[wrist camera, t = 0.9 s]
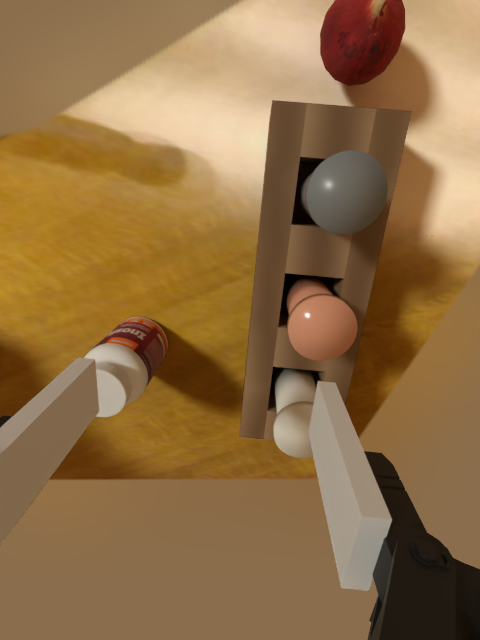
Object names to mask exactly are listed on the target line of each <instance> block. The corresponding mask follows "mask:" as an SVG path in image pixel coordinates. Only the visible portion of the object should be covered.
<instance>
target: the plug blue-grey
mask: <svg viewBox="0 0 480 640" xmlns="http://www.w3.org/2000/svg"><path fill="white" fill-rule="evenodd" d="M387 192H388V184H387V178H386V175H385V172H384V170H383V168H382V166H381V165H380V164H379V162H378V161H377V160H376V159H375V158H373V157H372V156H371V155H369V154H367V153H364V152H361V151H355V150H349V151H343V152H339V153H337V154H334V155H332V156H330V157H329V158H327V159H325V160H324V161H323V162H321V163H320V164H319V165H318V166H317V167H316V169H315V170H314V171H313V172H312V173H311V174H309V175H308V176H307V177H306V178H305V180H304V181H303V183H302V185H301V188H300V192H299V200H300V204H301V207H302V209H303V210H304V212H305V213H306V214H307V215H309V216H310V217H311V218H312V219H313V221H314V222H315V223H316V224H317V225H318V226H320V227H321V228H323V229H325V230H327V231H329V232H331V233H335V234H352V233H355V232H358V231H360V230H362V229H364V228H366V227H367V226H369V225H370V224H371V223H372V222H373V221H374V220H375V219H376V218H377V217H378V215H379V214H380V213H381V211H382V209H383V207H384V204H385V202H386V198H387Z"/></svg>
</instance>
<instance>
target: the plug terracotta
mask: <svg viewBox="0 0 480 640" xmlns="http://www.w3.org/2000/svg"><path fill="white" fill-rule="evenodd" d="M285 300H286V305H287V309H288V313H289V317H288V322H287V330H288V335H289V339H290V342H291V344H292V346H293V347H294V349H295V350H296V351H297V352H298V353H299V354H301V355H302V356H304V357H306V358H308V359H311V360H316V361H325V360H330V359H334V358H336V357H338V356H340V355H342V354H343V353H344V352H346V351H347V350H348V349H349V348H350V346H351V345H352V344H353V342H354V340H355V338H356V335H357V320H356V317H355V315H354V313H353V311H352V310H351V308H350V307H349V306H348V305H347V304H346V303H345V302H344V301H343V300H342V299H340V298H339V297H337V296H334V295H333V294H332V293H331V292H330V290H329V289H328V288H327V286H326V285H325V284H324V283H323V282H322V281H321V280H319V279H317V278H314V277H302V278H299V279H297V280H296V281H294V282H293V283H292V284H291V285H290V286H289V288H288V290H287V292H286V298H285Z"/></svg>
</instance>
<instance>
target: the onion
mask: <svg viewBox="0 0 480 640" xmlns="http://www.w3.org/2000/svg"><path fill="white" fill-rule="evenodd" d="M404 31H405V8H404V5H403V2H402V0H335V1H334V3H333V4H332V6H331V7H330V8H329V10H328V11H327V13H326V15H325V19H324V22H323V26H322V29H321V33H320V39H321V47H320V54H321V57H322V60H323V63H324V66H325V69H326V70H327V71H328V72H329V73H330V75H331V76H332V77H333V78H334V79H335V80H337V81H339V82H341V83H344V84H346V85H348V86H350V85H358V84H364V83H367V82H369V81H370V80H372V79H373V78H375V77H376V76H378V75H379V74H381V73H382V72H383V71H384V70H385V69H386V67H387V66H388V65H389V63H390V62H391V60H392V59H393V57H394V56H395V55H396V53H397V52H398V49H399V46H400V43H401V40H402V37H403V34H404Z"/></svg>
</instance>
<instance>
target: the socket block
mask: <svg viewBox="0 0 480 640" xmlns="http://www.w3.org/2000/svg"><path fill="white" fill-rule="evenodd" d="M411 112H412V111H400V110H387V109H374V108H362V107H349V106H337V105H324V104H312V103H299V102H287V101H274V100H273V101H272V107H271V114H270V122H269V132H268V143H267V153H266V163H265V174H264V184H263V194H262V204H261V215H260V225H259V235H258V246H257V256H256V266H255V277H254V287H253V297H252V307H251V318H250V328H249V338H248V349H247V359H246V369H245V379H244V390H243V400H242V412H241V425H240V437H246V438H256V439H266V440H274V432H273V423H274V419H275V417H276V415H277V409H276V397H275V385H274V381H271V378H272V371H273V367H283V368H293V369H304V370H311V374H312V375H313V378H314V382H315V385H316V388H317V383H318V381H324V382H334V383H336V385H337V388H338V390H339V393H340V395H341V397H342V400H343V402H344V405H346V401H347V396H348V392H349V387H350V383H351V378H352V374H353V370H354V365H355V361H356V356H357V352H358V347H359V343H360V338H361V334H362V330H363V325H364V321H365V316H366V312H367V307H368V303H369V298H370V294H371V290H372V285H373V281H374V276H375V272H376V267H377V263H378V258H379V254H380V249H381V245H382V241H383V236H384V232H385V227H386V223H387V218H388V214H389V209H390V205H391V201H392V196H393V192H394V187H395V183H396V178H397V174H398V169H399V165H400V161H401V156H402V152H403V147H404V143H405V138H406V134H407V129H408V125H409V121H410V116H411ZM349 150H355V151H361V152H364V153H367V154H369V155H371V156H372V157H373V158H375V159H376V160H377V161H378V162H379V164H380V165H381V166H382V168H383V170H384V172H385V175H386V178H387V184H388V192H387V198H386V202H385V204H384V207H383V209H382V211H381V213H380V214H379V215H378V217H377V218H376V219H375V220H374V221H373V222H372V223H371V224H370V225H369V226H367V227H366V228H364V229H362V230H360V231H358V232H355V233H352V234H335V233H331V232H329V231H327V230H325V229H323V228H321V227H320V226H318V225H317V224H316V223H315V222H306V221H294V220H292V216H293V208H294V200H295V193H296V185H297V177H298V170H299V164H302V165H314V166H318V165H319V164H320V163H321V162H323V161H324V160H325V159H327V158H329V157H330V156H332V155H334V154H337V153H339V152H343V151H349ZM285 273H289V274H300V275H311V276H322V277H328V278H327V283H326V286H327V288H328V289H329V290H330V292H331V293H332V294H333V295H334V296H337V297H339V298H340V299H342V300H343V301H344V302H345V303H346V304H347V305H348V306H349V307H350V308H351V310H352V311H353V313H354V315H355V317H356V320H357V335H356V338H355V340H354V342H353V344H352V345H351V346H350V348H349V349H348V350H347V351H346V352H344V353H343V354H342V355H340V356H338V357H336V358H334V359H330V360H325V361H316V360H311V359H308V358H306V357H304V356H302V355H301V354H299V353H298V352H297V351H296V350H295V349H294V347H293V346H292V344H291V342H290V339H289V335H288V330H287V322H288V317H289V313H288V309H287V308H282V307H281V301H282V293H283V286H284V278H285Z"/></svg>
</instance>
